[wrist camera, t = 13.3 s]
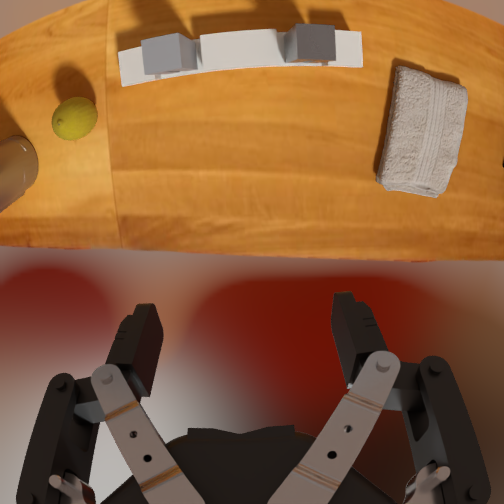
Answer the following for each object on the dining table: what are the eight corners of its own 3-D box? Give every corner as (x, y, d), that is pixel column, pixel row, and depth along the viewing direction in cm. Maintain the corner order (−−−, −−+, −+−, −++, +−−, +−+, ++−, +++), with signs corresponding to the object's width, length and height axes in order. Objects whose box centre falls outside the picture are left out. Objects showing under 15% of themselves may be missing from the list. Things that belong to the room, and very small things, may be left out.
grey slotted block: (314, 63, 33) (336, 60, 24) (285, 63, 33) (297, 59, 25) (313, 36, 31) (334, 25, 23) (283, 35, 31) (295, 23, 23)
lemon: (72, 94, 34) (40, 102, 27) (107, 93, 34) (79, 99, 28) (72, 132, 37) (41, 147, 30) (106, 132, 37) (79, 147, 31)
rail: (351, 34, 31) (384, 25, 22) (353, 67, 33) (386, 67, 25) (128, 53, 32) (91, 49, 23) (131, 85, 34) (96, 91, 25)
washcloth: (371, 185, 43) (379, 193, 40) (391, 62, 33) (401, 62, 31) (437, 195, 43) (447, 203, 40) (459, 85, 34) (471, 87, 31)
